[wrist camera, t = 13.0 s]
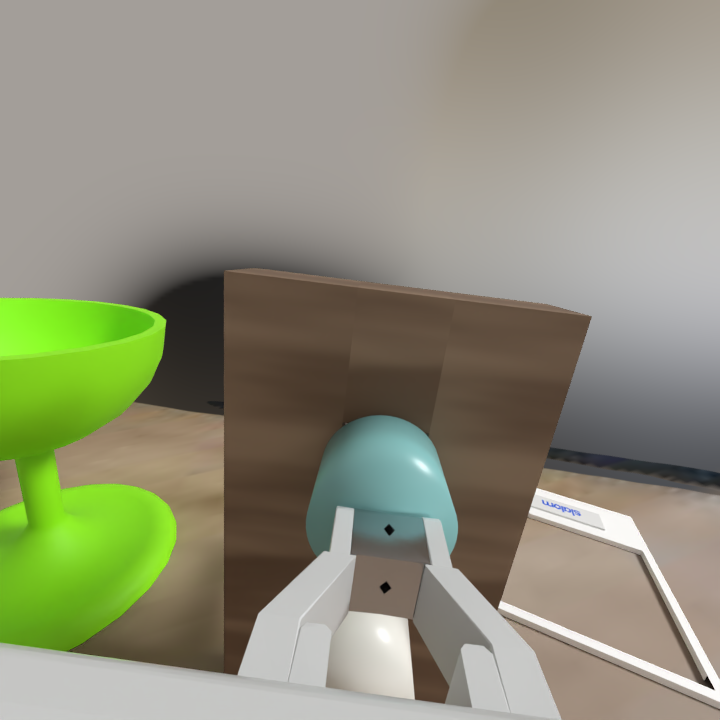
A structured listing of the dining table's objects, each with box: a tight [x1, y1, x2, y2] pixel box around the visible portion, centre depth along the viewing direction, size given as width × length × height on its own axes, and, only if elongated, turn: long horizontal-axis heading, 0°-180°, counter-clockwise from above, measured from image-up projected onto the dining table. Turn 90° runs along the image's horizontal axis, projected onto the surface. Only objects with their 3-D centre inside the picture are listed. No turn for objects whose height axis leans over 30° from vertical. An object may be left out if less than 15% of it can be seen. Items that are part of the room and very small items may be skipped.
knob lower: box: [325, 611, 415, 700], centre depth 18 cm, size 13×4×4 cm, turn 177°
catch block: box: [224, 268, 591, 704], centre depth 16 cm, size 3×12×23 cm, turn 87°
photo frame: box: [497, 488, 720, 709], centre depth 31 cm, size 15×1×18 cm
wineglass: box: [0, 298, 176, 652], centre depth 23 cm, size 16×16×18 cm
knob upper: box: [306, 415, 458, 557], centre depth 16 cm, size 13×4×4 cm, turn 177°
